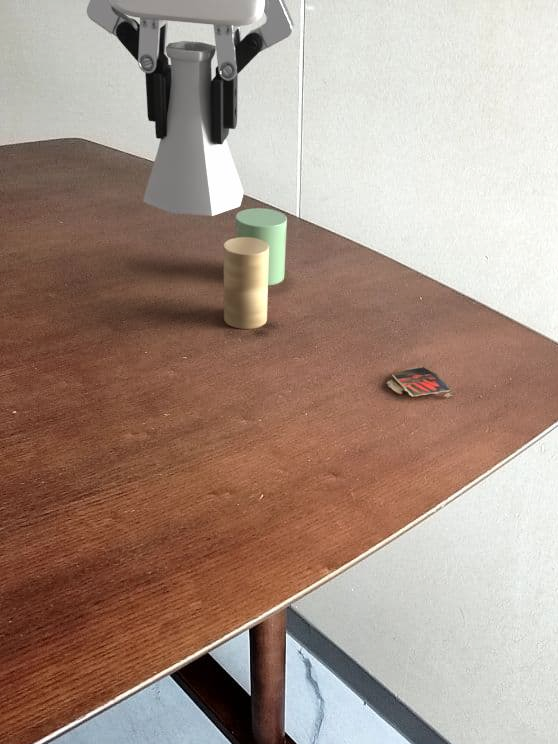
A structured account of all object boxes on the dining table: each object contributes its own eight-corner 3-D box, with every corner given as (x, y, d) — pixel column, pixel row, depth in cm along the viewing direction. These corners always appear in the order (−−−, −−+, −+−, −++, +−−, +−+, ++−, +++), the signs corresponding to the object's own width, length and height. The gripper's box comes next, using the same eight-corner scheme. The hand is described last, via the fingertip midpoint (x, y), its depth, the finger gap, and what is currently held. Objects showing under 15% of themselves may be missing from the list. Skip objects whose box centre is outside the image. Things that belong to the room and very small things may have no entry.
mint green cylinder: (231, 283, 86) (232, 223, 83) (239, 264, 90) (240, 205, 86) (281, 288, 86) (283, 228, 82) (287, 268, 90) (289, 210, 86)
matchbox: (419, 366, 75) (420, 361, 75) (460, 393, 72) (461, 388, 72) (378, 380, 73) (379, 375, 73) (418, 408, 70) (419, 403, 70)
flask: (218, 226, 59) (217, 64, 53) (125, 207, 61) (113, 48, 55) (259, 195, 65) (263, 44, 58) (172, 178, 66) (167, 29, 60)
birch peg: (220, 326, 79) (220, 252, 75) (227, 307, 82) (227, 235, 78) (263, 330, 79) (265, 256, 75) (269, 311, 82) (271, 239, 78)
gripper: (337, -202, 51) (315, 132, 63) (62, -223, 51) (92, 111, 63) (326, -204, 45) (304, 164, 57) (17, -228, 46) (59, 140, 58)
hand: (193, 133), depth 60 cm, fingers closed on flask, 3 cm apart
